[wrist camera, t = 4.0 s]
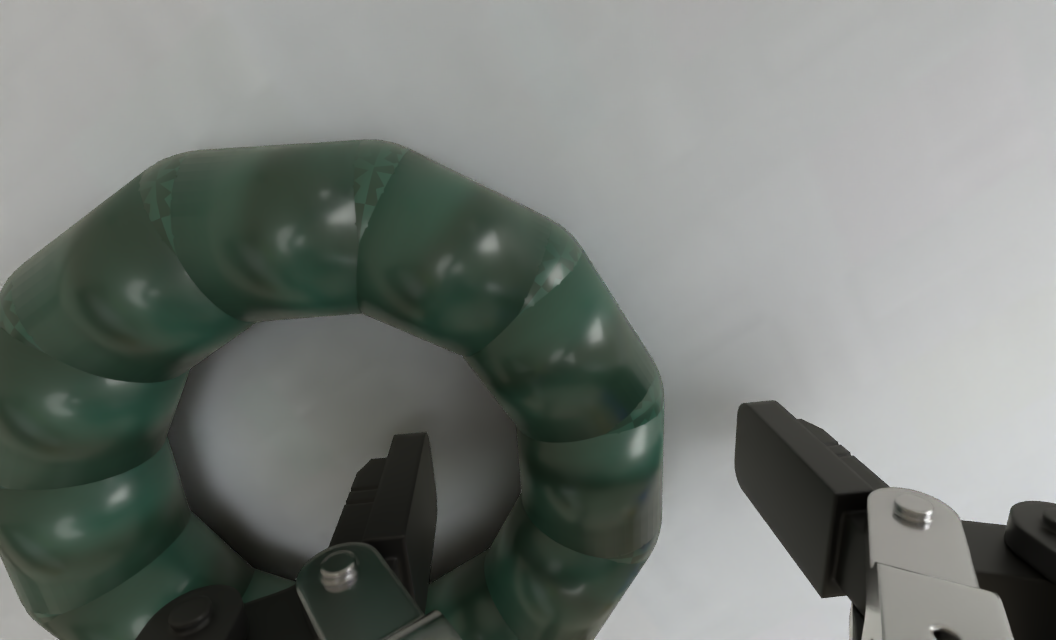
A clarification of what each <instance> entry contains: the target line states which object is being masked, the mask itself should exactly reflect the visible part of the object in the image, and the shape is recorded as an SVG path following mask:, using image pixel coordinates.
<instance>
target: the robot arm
mask: <svg viewBox="0 0 1056 640" xmlns="http://www.w3.org/2000/svg"><path fill="white" fill-rule="evenodd" d="M735 472H736V477H737V480H738V483H739V485H740V487H741V489H742V490H743V492H744V493H745V494H746V496H747V497H748V498H749V500H750V501H751V502H752V504H753V505H754V507H755V508H756V509H757V511H758V512H759V513H760V515H761V516H762V517H763V519H764V520H765V522H766V523H767V524H768V526H769V527H770V528H771V530H772V531H773V532H774V534H775V535H776V537H777V538H778V539H779V541H780V542H781V543H782V545H783V546H784V547H785V549H786V550H787V552H788V553H789V554H790V556H791V557H792V558H793V560H794V561H795V562H796V564H797V565H798V567H799V568H800V569H801V571H802V572H803V573H804V575H805V576H806V577H807V579H808V580H809V581H810V583H811V584H812V586H813V587H814V588H815V590H816V591H817V592H818V594H819V595H820V596H821V598H828V597H837V596H846V595H847V596H848V597H849V599H850V600H851V601H852V603H851V609H850V616H849V640H1056V504H1054V503H1049V502H1041V501H1025V502H1020V503H1017V504H1015V505H1014V506H1012V508H1011V510H1010V514H1009V518H1008V522H1007V525H999V524H990V523H981V522H972V521H963V520H960V517H959V516H958V515H957V513H956V512H955V511H954V510H953V509H952V508H951V507H949V506H948V505H947V504H945V503H944V502H942V501H940V500H938V499H936V498H934V497H932V496H930V495H927V494H925V493H922V492H919V491H915V490H911V489H906V488H897V487H889V486H888V485H887V484H886V483H885V482H884V481H882V480H881V479H880V478H879V477H878V476H877V475H876V474H874V473H873V472H872V471H871V470H870V469H869V468H867V467H866V466H865V465H864V464H863V463H862V462H860V461H859V460H858V459H857V458H856V457H855V456H851V455H850V452H849V451H848V450H846V449H845V448H844V447H843V446H842V445H838V442H837V441H836V440H835V439H834V438H832V437H831V436H830V435H829V434H828V433H827V432H825V431H824V430H823V429H821V428H819V427H817V426H815V425H813V424H811V423H809V422H806V421H804V420H802V419H796V418H795V417H794V416H793V415H792V414H790V413H789V412H788V411H787V410H786V409H785V408H784V407H783V406H782V405H780V404H779V403H778V402H777V401H774V400H772V401H761V402H750V403H742V404H741V405H740V406H739V409H738V414H737V429H736V445H735ZM436 522H437V493H436V485H435V477H434V470H433V462H432V455H431V448H430V440H429V436H428V433H427V432H419V433H408V434H397V435H394V437H393V440H392V443H391V446H390V449H389V453H388V456H387V457H386V458H375V459H371V460H370V461H369V462H368V463H367V464H366V465H365V466H364V467H363V468H362V469H361V470H360V471H358V472H357V474H356V477H355V479H354V482H353V484H352V487H351V492H349V495H348V498H347V500H346V505H344V508H343V511H342V513H341V516H340V519H339V521H338V524H337V526H336V529H335V532H334V534H333V537H332V539H331V542H330V545H329V547H328V548H327V549H325V550H323V551H321V552H319V553H318V554H316V555H315V556H313V557H312V558H311V559H310V560H309V561H308V562H307V563H306V564H305V565H304V566H303V567H302V569H301V570H300V572H299V574H298V576H297V579H296V584H295V585H293V586H291V587H288V588H286V589H284V590H281V591H279V592H276V593H273V594H270V595H267V596H264V597H261V598H258V599H255V600H252V601H250V602H247V603H244V604H243V600H242V597H241V595H240V593H239V591H238V590H237V589H235V588H234V587H231V586H228V585H221V584H220V585H209V586H204V587H200V588H197V589H194V590H191V591H189V592H187V593H185V594H182V595H180V596H179V597H177V598H175V599H173V600H172V601H170V602H169V603H167V604H166V605H165V606H163V607H162V608H161V609H160V610H159V611H158V612H157V613H155V614H154V615H153V616H152V618H151V619H150V620H149V621H148V622H147V624H146V625H145V627H144V628H143V629H142V631H141V632H140V634H139V635H138V636H137V638H136V639H135V640H463V639H462V638H461V637H460V636H459V634H458V633H457V632H456V630H455V629H454V628H453V626H452V625H451V624H450V623H449V621H448V620H447V619H446V618H445V616H444V615H443V614H442V613H441V612H440V611H438V610H433V611H431V612H429V613H428V614H426V615H425V610H426V602H427V594H428V586H429V578H430V570H431V562H432V554H433V546H434V538H435V530H436Z"/></svg>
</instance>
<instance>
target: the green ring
mask: <svg viewBox="0 0 1056 640" xmlns="http://www.w3.org/2000/svg"><path fill="white" fill-rule="evenodd" d="M361 313H362V314H365V315H367V316H369V317H372V318H374V319H377V320H379V321H381V322H384V323H386V324H388V325H391V326H393V327H395V328H398V329H400V330H402V331H405V332H407V333H409V334H412V335H414V336H416V337H419V338H421V339H423V340H426V341H428V342H430V343H433V344H435V345H437V346H440V347H442V348H444V349H447V350H449V351H451V352H454V353H456V354H459V355H461V356H463V358H464V359H465V360H466V361H467V363H468V364H469V365H470V367H471V368H472V369H473V370H474V372H475V373H476V374H477V376H478V377H479V378H480V380H481V381H482V382H483V383H484V385H485V386H486V387H487V389H488V390H489V391H490V393H491V394H492V395H493V396H494V398H495V399H496V400H497V402H498V403H499V404H500V406H501V407H502V408H503V409H504V411H505V412H506V413H507V415H508V416H509V417H510V419H511V420H512V421H513V422H514V424H515V425H516V430H517V443H518V456H519V470H520V483H521V494H520V495H519V497H518V499H517V501H516V502H515V504H514V506H513V508H512V510H511V511H510V513H509V515H508V517H507V518H506V520H505V522H504V524H503V525H502V527H501V529H500V531H499V532H498V534H497V536H496V538H495V539H494V541H493V543H492V545H491V547H490V548H489V549H487V550H486V551H484V552H482V553H481V554H479V555H477V556H476V557H474V558H472V559H471V560H469V561H467V562H466V563H464V564H462V565H461V566H459V567H457V568H456V569H454V570H452V571H451V572H449V573H447V574H446V575H444V576H442V577H441V578H439V579H437V580H435V581H434V582H432V583H430V584H429V586H428V594H427V602H426V610H425V615H426V614H428V613H429V612H431V611H433V610H438V611H440V612H441V613H442V614H443V615H444V616H445V618H446V619H447V620H448V621H449V623H450V624H451V625H452V626H453V628H454V629H455V630H456V632H457V633H458V634H459V636H460V637H461V638H462V639H463V640H594V638H595V637H596V635H597V634H598V632H599V631H600V629H601V628H602V626H603V625H604V623H605V622H606V620H607V619H608V617H609V616H610V614H611V613H612V611H613V610H614V608H615V607H616V605H617V604H618V602H619V601H620V599H621V598H622V596H623V595H624V593H625V592H626V590H627V589H628V587H629V586H630V584H631V583H632V581H633V580H634V578H635V577H636V575H637V574H638V572H639V571H640V569H641V568H642V566H643V565H644V563H645V562H646V560H647V559H648V557H649V556H650V554H651V552H652V551H653V549H654V547H655V545H656V542H657V539H658V536H659V533H660V528H661V521H662V484H663V435H664V391H663V384H662V381H661V376H660V374H659V371H658V369H657V367H656V365H655V363H654V361H653V359H652V358H651V356H650V354H649V353H648V351H647V350H646V348H645V347H644V345H643V343H642V342H641V340H640V339H639V337H638V336H637V334H636V332H635V331H634V329H633V328H632V326H631V325H630V323H629V321H628V320H627V318H626V317H625V315H624V314H623V312H622V310H621V309H620V307H619V306H618V304H617V303H616V301H615V299H614V298H613V296H612V295H611V293H610V292H609V290H608V288H607V287H606V285H605V284H604V282H603V281H602V279H601V277H600V276H599V274H598V273H597V271H596V269H595V268H594V266H593V265H592V263H591V262H590V260H589V258H588V257H587V255H586V254H585V252H584V251H583V249H582V247H581V246H580V245H579V244H578V242H577V241H576V239H575V238H574V237H573V236H572V235H571V234H570V233H569V232H568V231H567V230H566V229H565V228H564V227H562V226H561V225H560V224H558V223H556V222H554V221H553V220H551V219H549V218H548V217H546V216H544V215H542V214H540V213H538V212H536V211H534V210H532V209H530V208H528V207H526V206H524V205H522V204H520V203H518V202H515V201H513V200H511V199H509V198H507V197H505V196H503V195H501V194H499V193H497V192H495V191H493V190H491V189H489V188H487V187H485V186H483V185H481V184H479V183H477V182H475V181H473V180H471V179H469V178H467V177H465V176H463V175H461V174H459V173H457V172H455V171H453V170H451V169H449V168H447V167H445V166H443V165H441V164H439V163H437V162H435V161H433V160H431V159H429V158H427V157H425V156H423V155H421V154H419V153H417V152H415V151H413V150H411V149H409V148H406V147H404V146H401V145H399V144H396V143H392V142H387V141H383V140H350V141H335V142H319V143H303V144H287V145H271V146H255V147H239V148H223V149H207V150H197V151H189V152H185V153H181V154H177V155H174V156H171V157H168V158H165V159H163V160H161V161H159V162H157V163H156V164H154V165H153V166H151V167H149V168H148V169H146V170H145V171H144V172H142V173H141V174H140V175H138V176H137V177H136V178H134V179H133V180H132V181H130V182H129V183H128V184H127V185H125V186H124V187H123V188H121V189H120V190H119V191H117V192H116V193H115V194H113V195H112V196H111V197H110V198H108V199H107V200H106V201H104V202H103V203H102V204H100V205H99V206H98V207H96V208H95V209H94V210H92V211H91V212H90V213H89V214H87V215H86V216H85V217H83V218H82V219H81V220H79V221H78V222H77V223H75V224H74V225H73V226H72V227H70V228H69V229H68V230H66V231H65V232H64V233H62V234H61V235H60V236H58V237H57V238H56V239H54V240H53V241H52V242H51V243H49V244H48V245H47V246H45V247H44V248H43V249H41V250H40V251H39V252H37V253H36V254H35V255H34V256H32V257H31V258H30V259H28V260H27V261H26V262H24V263H23V264H22V265H21V266H20V267H19V268H18V269H17V270H16V271H14V272H13V274H12V275H11V276H10V277H9V278H8V280H7V281H6V283H5V284H4V286H3V288H2V290H1V292H0V557H1V559H2V561H3V564H4V566H5V568H6V570H7V572H8V575H9V577H10V579H11V581H12V584H13V586H14V588H15V590H16V592H17V595H18V597H19V599H20V601H21V603H22V605H23V606H24V607H25V609H26V611H27V613H28V614H29V615H30V616H31V617H32V619H33V620H35V621H36V622H37V623H38V624H39V625H40V626H42V627H43V628H44V629H46V630H47V631H48V632H50V633H51V634H52V635H54V636H55V637H56V638H58V639H59V640H135V639H136V638H137V636H138V635H139V634H140V632H141V631H142V629H143V628H144V627H145V625H146V624H147V622H148V621H149V620H150V619H151V618H152V616H153V615H154V614H155V613H157V612H158V611H159V610H160V609H161V608H162V607H163V606H165V605H166V604H167V603H169V602H170V601H172V600H173V599H175V598H177V597H179V596H180V595H182V594H185V593H187V592H189V591H191V590H194V589H197V588H200V587H204V586H209V585H220V584H221V585H228V586H231V587H234V588H235V589H237V590H238V591H239V593H240V595H241V597H242V600H243V604H244V603H247V602H250V601H252V600H255V599H258V598H261V597H264V596H267V595H270V594H273V593H276V592H279V591H281V590H284V589H286V588H288V587H291V586H293V585H295V584H296V581H293V580H289V579H286V578H283V577H280V576H277V575H274V574H270V573H267V572H264V571H261V570H258V569H255V568H253V567H252V566H251V565H250V564H248V563H247V562H246V561H245V560H244V559H243V558H242V557H241V556H240V555H239V554H238V553H237V552H235V551H234V550H233V549H232V548H231V547H230V546H229V545H228V544H227V543H226V542H225V541H224V540H222V539H221V538H220V537H219V536H218V535H217V534H216V533H215V532H214V531H213V530H212V529H211V528H209V527H208V526H207V525H206V524H205V523H204V522H203V521H202V520H201V519H200V518H199V517H198V516H196V515H195V514H194V513H193V512H192V511H191V510H190V509H189V506H188V502H187V499H186V496H185V492H184V489H183V486H182V483H181V479H180V476H179V473H178V469H177V466H176V463H175V460H174V456H173V453H172V450H171V446H170V443H169V440H168V437H167V434H168V431H169V429H170V426H171V423H172V420H173V417H174V414H175V411H176V409H177V406H178V403H179V400H180V397H181V394H182V391H183V389H184V386H185V383H186V380H187V377H188V374H189V371H190V368H192V367H193V366H195V365H196V364H198V363H199V362H201V361H202V360H203V359H205V358H206V357H208V356H209V355H211V354H212V353H213V352H215V351H216V350H218V349H219V348H221V347H222V346H223V345H225V344H226V343H228V342H229V341H231V340H232V339H233V338H235V337H236V336H238V335H239V334H241V333H242V332H243V331H245V330H246V329H248V328H249V327H251V326H252V325H253V324H255V323H256V322H259V321H272V320H285V319H297V318H310V317H323V316H336V315H349V314H361Z"/></svg>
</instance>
